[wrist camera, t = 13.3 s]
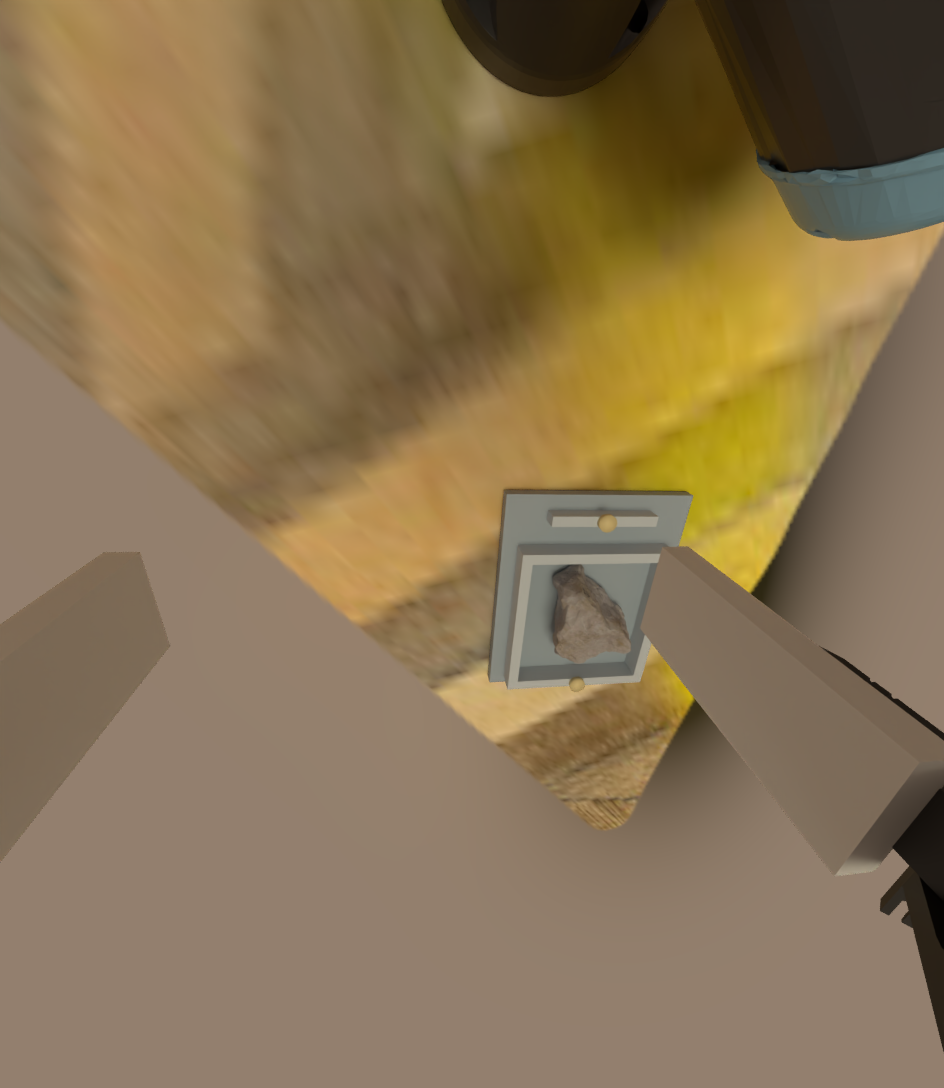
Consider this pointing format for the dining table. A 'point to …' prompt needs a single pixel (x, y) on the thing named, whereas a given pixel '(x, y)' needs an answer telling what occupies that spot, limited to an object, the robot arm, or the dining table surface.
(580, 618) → the stone
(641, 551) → the bracket board
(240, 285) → the dining table surface
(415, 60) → the dining table surface
